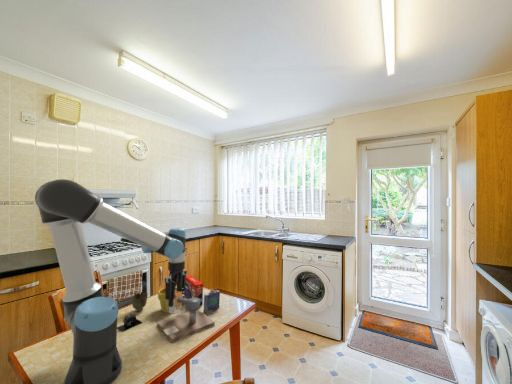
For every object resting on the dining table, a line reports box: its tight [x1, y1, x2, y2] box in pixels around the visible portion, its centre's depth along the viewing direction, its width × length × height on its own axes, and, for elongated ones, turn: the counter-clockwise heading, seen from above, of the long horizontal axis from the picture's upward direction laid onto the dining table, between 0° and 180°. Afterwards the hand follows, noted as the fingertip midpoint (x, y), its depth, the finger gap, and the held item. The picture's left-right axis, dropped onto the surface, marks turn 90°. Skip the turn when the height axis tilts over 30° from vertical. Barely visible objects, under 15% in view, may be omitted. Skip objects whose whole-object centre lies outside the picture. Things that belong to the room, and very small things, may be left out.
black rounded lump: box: [117, 313, 143, 333], centre depth 105 cm, size 12×7×5 cm, turn 144°
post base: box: [156, 309, 216, 343], centre depth 106 cm, size 20×17×8 cm
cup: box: [131, 292, 149, 313], centre depth 119 cm, size 8×7×8 cm
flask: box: [203, 288, 221, 314], centre depth 122 cm, size 9×3×11 cm, turn 132°
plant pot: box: [157, 286, 177, 313], centre depth 121 cm, size 10×10×10 cm
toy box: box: [183, 274, 204, 306], centre depth 133 cm, size 18×4×12 cm, turn 37°
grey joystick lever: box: [171, 290, 201, 312], centre depth 107 cm, size 15×6×6 cm, turn 69°
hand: (175, 310), depth 109 cm, fingers closed on grey joystick lever, 4 cm apart
